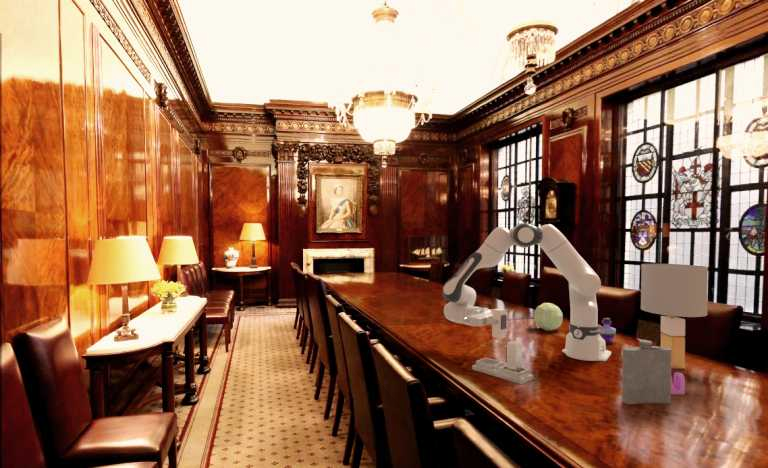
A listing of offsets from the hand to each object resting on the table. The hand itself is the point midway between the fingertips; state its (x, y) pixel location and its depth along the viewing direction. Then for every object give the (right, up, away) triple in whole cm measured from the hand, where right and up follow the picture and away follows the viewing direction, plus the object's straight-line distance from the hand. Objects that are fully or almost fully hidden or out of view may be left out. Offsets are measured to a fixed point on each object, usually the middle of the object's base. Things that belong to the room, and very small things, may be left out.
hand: (500, 321), depth 182 cm
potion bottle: (+62, -17, +31) cm, 72 cm away
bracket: (+51, -18, -30) cm, 62 cm away
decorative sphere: (+42, -17, +57) cm, 73 cm away
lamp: (+70, -17, -6) cm, 72 cm away
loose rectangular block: (-1, -7, +1) cm, 7 cm away
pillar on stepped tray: (-4, -17, -17) cm, 25 cm away
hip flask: (+36, -18, -43) cm, 59 cm away
